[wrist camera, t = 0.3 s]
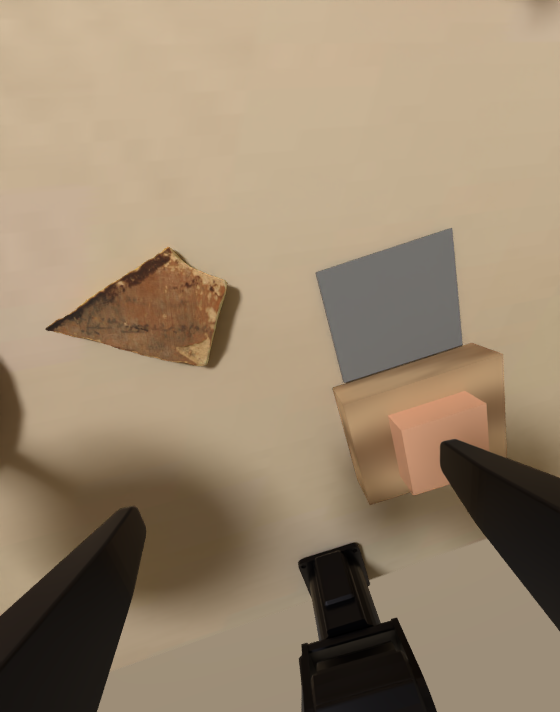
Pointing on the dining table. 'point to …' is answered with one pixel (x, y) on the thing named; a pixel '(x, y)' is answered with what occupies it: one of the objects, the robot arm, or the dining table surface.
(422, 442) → the pink square block
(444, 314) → the mat
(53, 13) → the dining table surface
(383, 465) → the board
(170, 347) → the shard
